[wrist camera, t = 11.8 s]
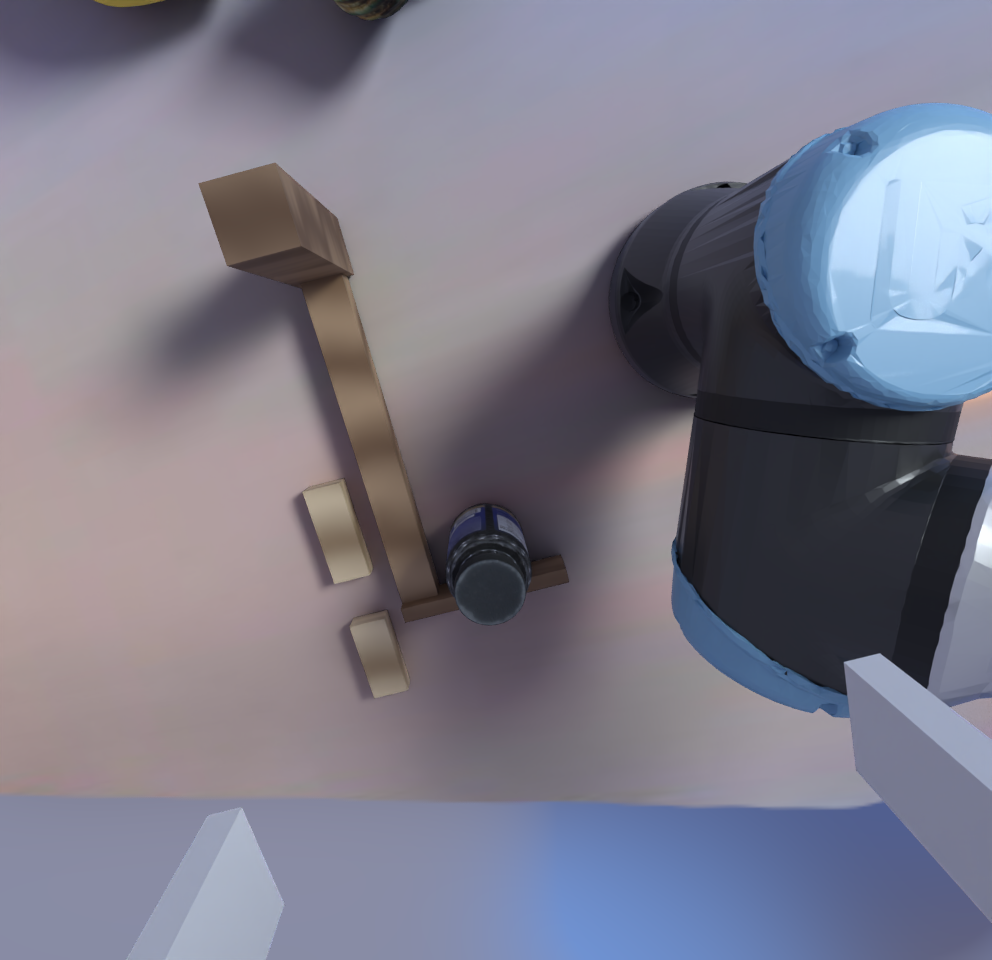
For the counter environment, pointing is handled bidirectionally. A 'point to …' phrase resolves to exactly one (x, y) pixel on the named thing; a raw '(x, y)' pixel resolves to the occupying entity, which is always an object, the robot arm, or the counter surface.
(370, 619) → the broken strip
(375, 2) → the seashell
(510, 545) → the pill bottle
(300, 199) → the wooden stand
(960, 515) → the robot arm
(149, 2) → the yellow faceted lidded jar
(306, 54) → the counter surface
